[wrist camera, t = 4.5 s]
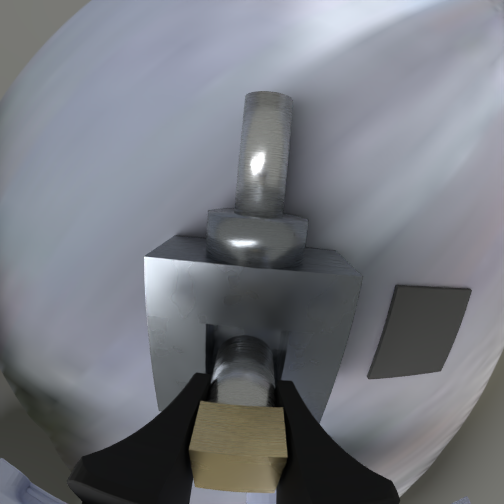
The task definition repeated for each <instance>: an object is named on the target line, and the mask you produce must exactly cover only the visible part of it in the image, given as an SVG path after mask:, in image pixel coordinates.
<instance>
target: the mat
mask: <svg viewBox="0 0 504 504" xmlns="http://www.w3.org/2000/svg"><path fill="white" fill-rule="evenodd" d="M471 291H472V290H470V289H465V288H442V287H422V286H404V285H396V286H395V290H394V294H393V298H392V301H391V305H390V309H389V312H388V316H387V319H386V323H385V326H384V329H383V332H382V335H381V338H380V342H379V345H378V347H377V350H376V353H375V356H374V359H373V362H372V364H371V367H370V370H369V372H368V375H367V377H368V379H380V378H392V377H402V376H410V375H418V374H425V373H432V372H438V371H441V370H442V368H443V366H444V364H445V361H446V359H447V357H448V355H449V352H450V350H451V348H452V345H453V343H454V340H455V338H456V335H457V333H458V330H459V327H460V325H461V322H462V319H463V316H464V313H465V311H466V307H467V304H468V301H469V298H470V295H471Z"/></svg>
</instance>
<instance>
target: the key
mask: <svg viewBox="0 0 504 504" xmlns="http://www.w3.org/2000/svg"><path fill="white" fill-rule="evenodd" d="M189 455H190V461H191V467H192V473H193V478H194V484H195V487H198V488H205V489H213V490H222V491H233V492H248V493H275V490H276V488H277V485H278V482H279V480H280V477H281V474H282V472H283V469H284V466H285V463H286V460H287V457H288V456H287V445H286V434H285V423H284V412H283V407H276V394H275V380H274V366H273V354H272V351H271V349H270V347H269V346H268V345H267V344H266V343H265V342H264V341H263V340H261V339H259V338H257V337H254V336H249V335H239V336H235V337H232V338H229V339H228V340H226V341H225V342H224V343H223V344H222V345H221V346H220V348H219V350H218V354H217V358H216V362H215V367H214V371H213V376H212V380H211V384H210V389H209V394H208V398H207V402H204V401H200V405H199V409H198V414H197V418H196V422H195V426H194V430H193V434H192V438H191V442H190V446H189Z"/></svg>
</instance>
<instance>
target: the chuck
mask: <svg viewBox="0 0 504 504" xmlns="http://www.w3.org/2000/svg"><path fill="white" fill-rule="evenodd" d="M292 109H293V99H292V98H291V97H289V96H287V95H284V94H281V93H276V92H268V91H258V92H251V93H248V94H247V95H246V96H245V104H244V113H243V123H242V133H241V143H240V154H239V165H238V176H237V187H236V199H235V208H223V209H212V210H209V211H208V219H207V236H206V238H197V237H186V236H173V237H172V238H170V239H169V240H167V241H166V242H164V243H163V244H162V245H160V246H159V247H157V248H156V249H154V250H153V251H151V252H150V253H148V254H147V255H146V256H144V274H145V297H146V313H147V325H148V336H149V346H150V355H151V363H152V371H153V378H154V385H155V391H156V397H157V403H158V409H159V411H163V410H164V409H165V408H166V407H167V406H168V405H169V404H170V403H171V402H172V401H173V400H174V399H175V398H176V396H177V395H178V394H179V393H180V392H181V391H182V390H183V388H184V387H185V386H186V384H187V383H188V382H189V380H190V379H191V378H192V376H193V375H194V374H195V373H196V372H198V373H205V374H211V377H210V384H211V380H212V376H213V371H214V367H215V362H216V358H217V354H218V350H219V348H220V346H221V345H222V344H223V343H224V342H225V341H226V340H228V339H229V338H232V337H235V336H239V335H249V336H254V337H257V338H259V339H261V340H263V341H264V342H265V343H266V344H267V345H268V346H269V347H270V349H271V351H272V354H273V366H274V380H275V390H276V384H277V380H288V381H292V382H293V383H294V385H295V387H296V389H297V391H298V392H299V394H300V396H301V398H302V399H303V401H304V403H305V404H306V406H307V407H308V409H309V410H310V412H311V413H312V415H313V416H314V418H315V419H316V420H317V422H318V423H320V421H321V418H322V416H323V413H324V410H325V408H326V405H327V402H328V399H329V397H330V394H331V391H332V388H333V385H334V382H335V379H336V376H337V373H338V370H339V367H340V364H341V360H342V357H343V354H344V350H345V347H346V344H347V340H348V336H349V333H350V329H351V325H352V322H353V318H354V314H355V310H356V306H357V301H358V297H359V293H360V288H361V284H362V279H363V276H362V275H361V274H360V273H359V272H358V271H357V270H356V269H354V268H353V267H352V266H351V265H350V264H349V263H348V262H347V261H346V260H345V259H344V258H343V257H342V256H341V255H340V254H338V253H337V252H336V251H335V250H326V249H316V248H305V244H306V237H307V229H308V220H307V219H305V218H303V217H299V216H295V215H291V214H285V213H283V207H284V198H285V188H286V178H287V167H288V156H289V145H290V133H291V121H292Z"/></svg>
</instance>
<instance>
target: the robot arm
mask: <svg viewBox="0 0 504 504" xmlns="http://www.w3.org/2000/svg"><path fill="white" fill-rule="evenodd" d="M210 377H211V374H205V373H198V372H196V373H195V374H194V375H193V376H192V378H191V379H190V380H189V382H188V383H187V384H186V386H185V387H184V388H183V390H182V391H181V392H180V393H179V394H178V395H177V396H176V398H175V399H174V400H173V401H172V402H171V403H170V404H169V405H168V406H167V407H166V408H165V409H164V410H163V411H162V412H161V413H160V414H159V415H158V416H156V417H155V418H154V419H153V420H152V421H150V422H149V423H148V424H146V425H145V426H144V427H142V428H141V429H140V430H138V431H137V432H135V433H133V434H132V435H130V436H129V437H127V438H125V439H123V440H122V441H120V442H118V443H116V444H114V445H112V446H110V447H107V448H105V449H103V450H100V451H97V452H95V453H92V454H89V455H86V456H83V457H81V459H80V460H79V462H78V463H77V464H76V466H75V467H74V469H73V471H72V473H71V475H70V477H69V478H68V480H67V484H68V486H69V487H70V489H71V490H72V491H73V492H74V493H75V494H76V495H77V496H78V497H79V498H80V499H81V500H82V501H83V502H82V504H189V502H190V495H191V488H192V482H193V473H192V467H191V461H190V455H189V446H190V442H191V438H192V434H193V430H194V426H195V422H196V418H197V414H198V409H199V405H200V401H204V402H207V398H208V394H209V389H210ZM275 394H276V407H283V412H284V423H285V434H286V445H287V456H288V457H287V460H286V463H285V466H284V469H283V472H282V474H281V477H280V480H279V482H278V485H277V488H276V490H275V493H248V492H247V500H246V504H399V502H400V498H399V495H398V492H397V490H396V488H395V486H394V484H393V482H392V481H391V480H389V479H387V478H385V477H383V476H381V475H379V474H377V473H375V472H373V471H371V470H370V469H368V468H367V467H365V466H364V465H362V464H361V463H359V462H358V461H357V460H355V459H354V458H353V457H351V456H350V455H349V454H348V453H346V452H345V451H344V450H343V449H342V448H341V447H340V446H339V445H338V444H337V443H336V442H335V441H334V440H333V439H332V438H331V437H330V436H329V435H328V434H327V433H326V432H325V430H324V429H323V428H322V427H321V426H320V424H319V423H318V422H317V420H316V419H315V418H314V416H313V415H312V413H311V412H310V410H309V409H308V407H307V406H306V404H305V403H304V401H303V399H302V398H301V396H300V394H299V392H298V391H297V389H296V387H295V385H294V383H293V382H292V381H288V380H277V384H276V390H275ZM0 504H67V503H65V502H63V501H61V500H59V499H58V498H55V497H54V496H52V495H51V494H49V493H47V492H46V491H44V490H42V489H41V488H39V487H37V486H35V485H34V484H33V483H31V482H30V480H29V479H28V478H27V477H26V476H25V475H24V474H23V473H22V472H20V471H19V470H18V469H16V468H15V467H14V466H12V465H11V464H10V463H8V462H7V461H5V460H4V459H3V458H1V459H0ZM452 504H471V503H470V501H469V499H468V497H467V496H466V497H464V498H462V499H460V500H458V501H456V502H454V503H452Z"/></svg>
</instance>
